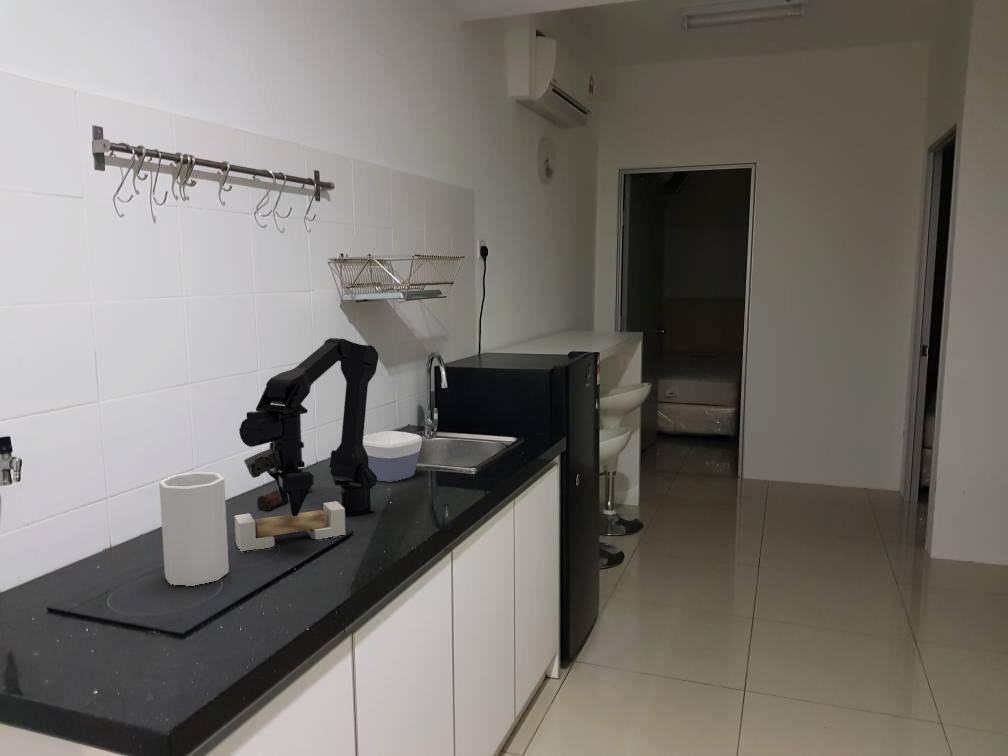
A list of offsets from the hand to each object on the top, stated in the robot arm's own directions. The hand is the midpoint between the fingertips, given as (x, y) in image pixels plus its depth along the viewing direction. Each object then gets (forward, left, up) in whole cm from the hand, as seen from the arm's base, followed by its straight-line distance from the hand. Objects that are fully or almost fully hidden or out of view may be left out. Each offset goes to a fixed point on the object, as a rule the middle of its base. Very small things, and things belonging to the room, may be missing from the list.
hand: (289, 509), depth 162 cm
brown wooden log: (-6, -29, -7) cm, 31 cm away
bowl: (-36, -39, -7) cm, 53 cm away
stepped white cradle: (0, 0, -6) cm, 7 cm away
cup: (+20, +11, -7) cm, 24 cm away
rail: (0, 0, -6) cm, 7 cm away
